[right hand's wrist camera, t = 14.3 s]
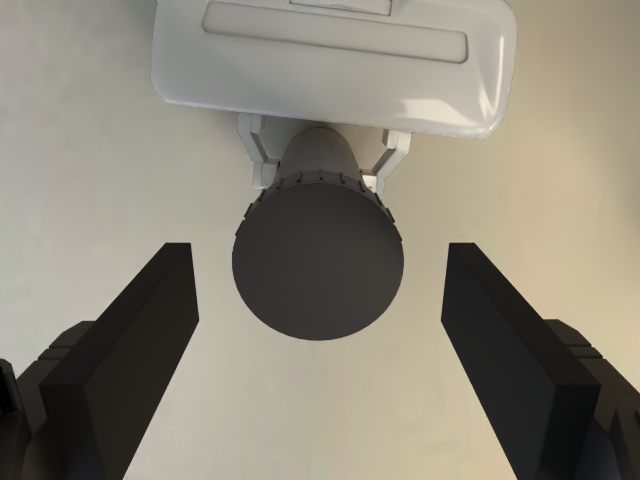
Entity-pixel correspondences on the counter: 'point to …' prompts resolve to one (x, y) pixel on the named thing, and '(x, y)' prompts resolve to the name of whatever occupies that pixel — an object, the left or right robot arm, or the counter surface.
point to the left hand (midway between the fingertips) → (317, 194)
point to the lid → (317, 256)
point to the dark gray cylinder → (319, 155)
